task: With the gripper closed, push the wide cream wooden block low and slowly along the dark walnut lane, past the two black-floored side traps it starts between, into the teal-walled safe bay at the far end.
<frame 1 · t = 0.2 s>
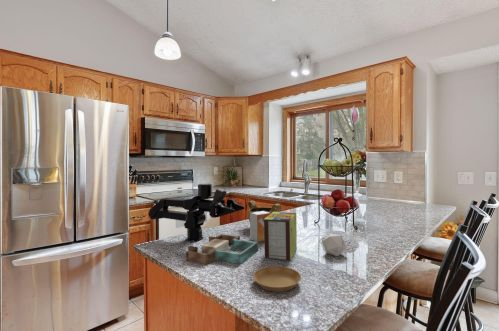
hand: (239, 209, 118), 16 cm above the countertop, tool horizontal, fingers open, 9 cm apart
white faceted lump: (334, 254, 106), on the countertop
cream block: (215, 252, 111), on the countertop
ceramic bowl: (263, 229, 147), on the countertop
protein box: (281, 253, 108), on the countertop
plant saucer: (277, 284, 82), on the countertop
small box: (260, 239, 127), on the countertop
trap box: (219, 252, 110), on the countertop
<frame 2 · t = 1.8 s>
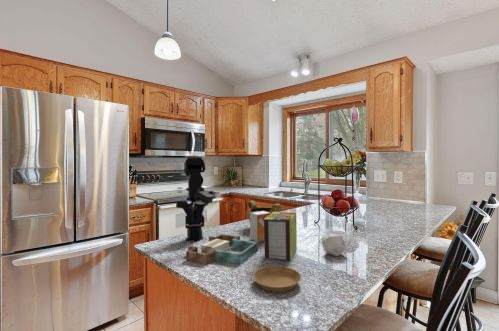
hand: (195, 221, 115), 12 cm above the countertop, tool pointing down, fingers open, 5 cm apart
nothing on the countertop moved.
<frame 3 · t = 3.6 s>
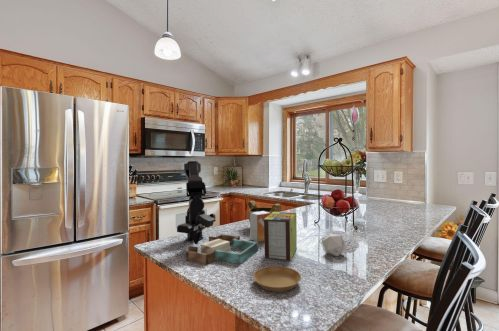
hand: (196, 244, 115), 2 cm above the countertop, tool pointing down, fingers closed
nothing on the countertop moved.
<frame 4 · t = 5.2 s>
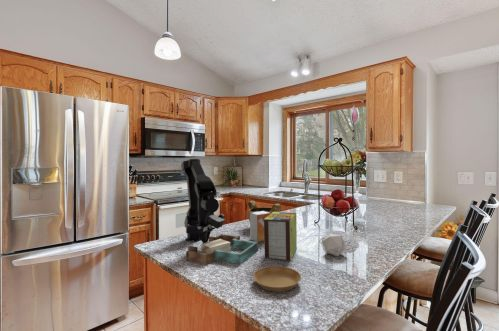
hand: (205, 245, 113), 2 cm above the countertop, tool pointing down, fingers closed
cream block: (215, 252, 111), on the countertop, touching gripper
everything else where it was.
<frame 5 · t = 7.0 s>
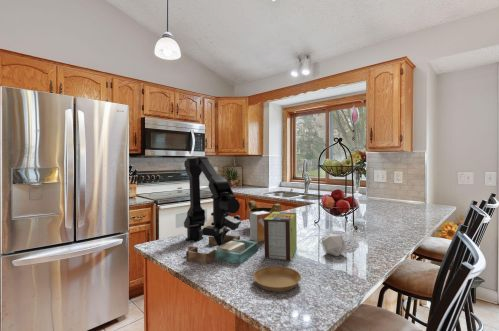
hand: (220, 247, 110), 2 cm above the countertop, tool pointing down, fingers closed
cream block: (231, 254, 108), on the countertop, touching gripper
everything else where it was.
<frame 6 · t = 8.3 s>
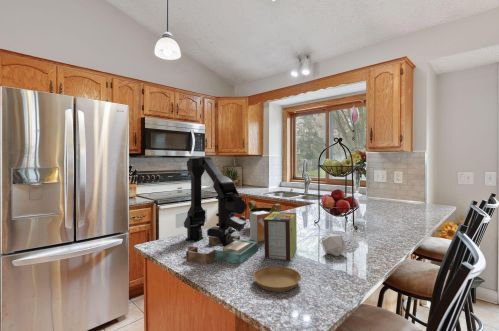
hand: (225, 248, 109), 2 cm above the countertop, tool pointing down, fingers closed
cream block: (236, 254, 108), on the countertop
everything else where it was.
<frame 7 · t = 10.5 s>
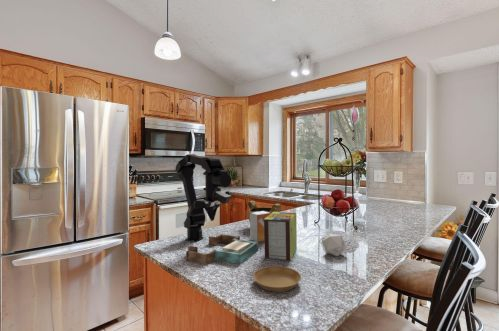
hand: (212, 220, 117), 12 cm above the countertop, tool pointing down, fingers closed
nothing on the countertop moved.
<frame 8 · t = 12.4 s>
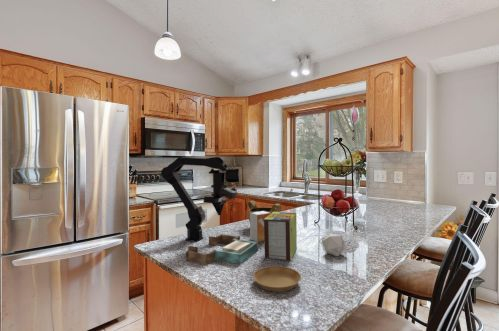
hand: (219, 215, 127), 12 cm above the countertop, tool pointing down, fingers closed
nothing on the countertop moved.
at the end: cream block inside the target area (0.8 cm from its centre), on the countertop; cream block tilted 0°; cream block moved 9.7 cm from its start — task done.
